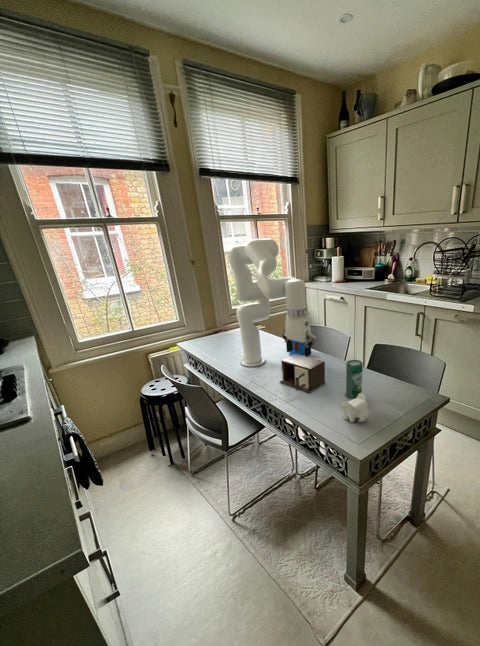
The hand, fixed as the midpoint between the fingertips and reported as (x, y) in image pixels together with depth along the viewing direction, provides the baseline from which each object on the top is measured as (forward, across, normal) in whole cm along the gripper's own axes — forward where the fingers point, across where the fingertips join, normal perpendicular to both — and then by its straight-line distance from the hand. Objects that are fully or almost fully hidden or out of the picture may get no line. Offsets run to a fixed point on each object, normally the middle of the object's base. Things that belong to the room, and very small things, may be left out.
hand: (298, 353), depth 129 cm
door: (+18, +2, -1) cm, 18 cm away
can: (+19, -19, -12) cm, 30 cm away
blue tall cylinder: (+19, +32, -36) cm, 52 cm away
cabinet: (+19, +6, -9) cm, 22 cm away
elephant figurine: (+19, -29, +3) cm, 35 cm away
